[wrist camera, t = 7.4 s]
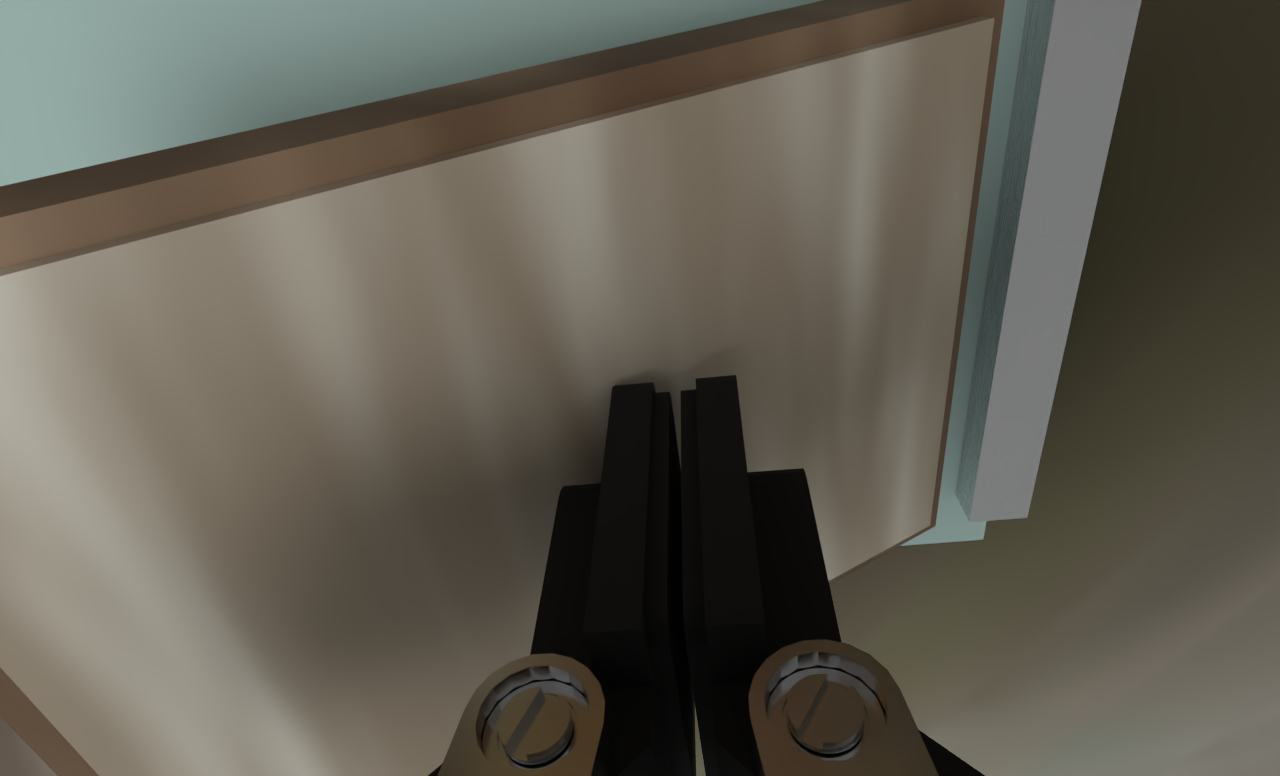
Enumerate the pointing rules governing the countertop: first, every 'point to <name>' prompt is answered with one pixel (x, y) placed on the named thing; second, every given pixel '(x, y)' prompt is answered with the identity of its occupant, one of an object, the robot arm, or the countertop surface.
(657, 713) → the robot arm
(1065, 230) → the rail
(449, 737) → the walnut board
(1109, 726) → the countertop surface
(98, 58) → the mat
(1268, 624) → the countertop surface
